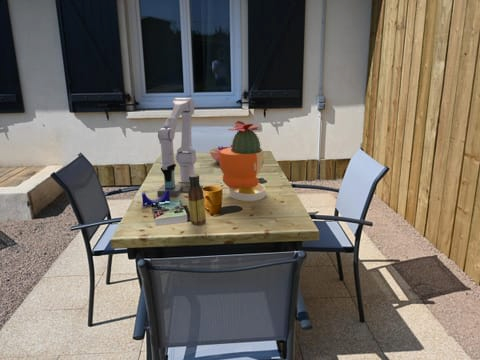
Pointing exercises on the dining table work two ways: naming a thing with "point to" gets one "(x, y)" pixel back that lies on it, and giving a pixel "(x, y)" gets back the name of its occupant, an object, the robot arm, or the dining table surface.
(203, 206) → the sauce bottle
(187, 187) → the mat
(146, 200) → the cable clip
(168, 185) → the plug
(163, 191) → the socket block
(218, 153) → the cell model
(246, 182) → the potted cactus
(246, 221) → the dining table surface
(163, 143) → the robot arm
